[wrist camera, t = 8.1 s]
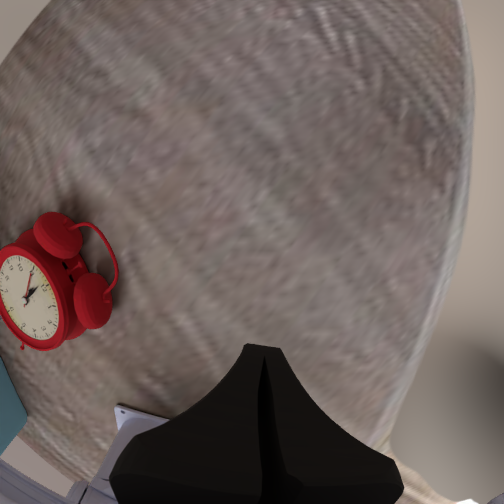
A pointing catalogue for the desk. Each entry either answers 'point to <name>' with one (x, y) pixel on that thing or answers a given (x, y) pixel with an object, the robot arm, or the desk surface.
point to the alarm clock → (52, 284)
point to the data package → (9, 410)
